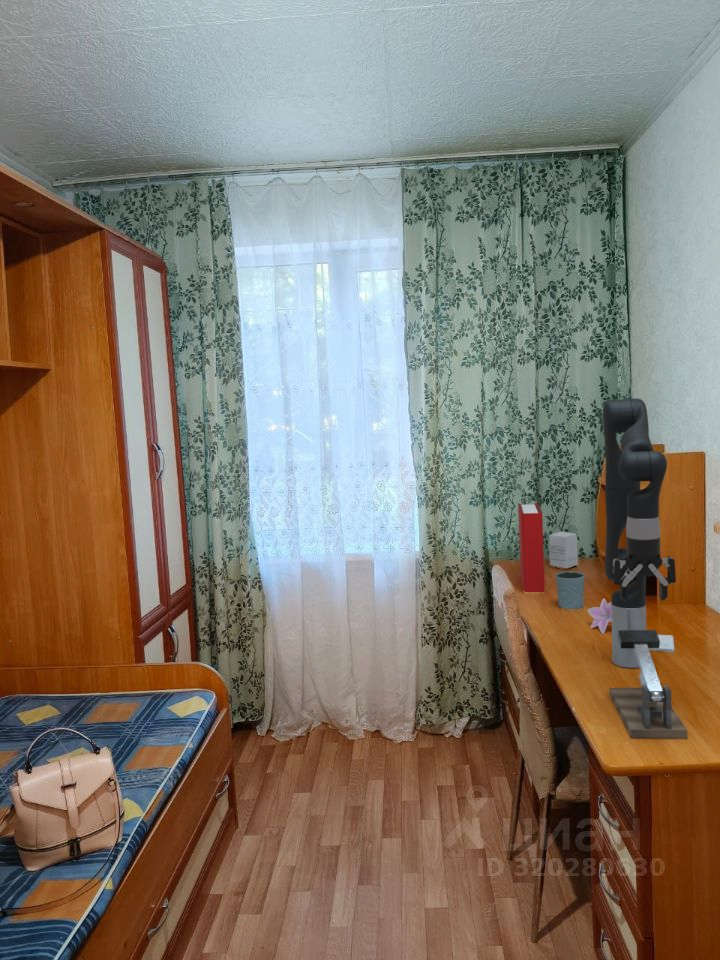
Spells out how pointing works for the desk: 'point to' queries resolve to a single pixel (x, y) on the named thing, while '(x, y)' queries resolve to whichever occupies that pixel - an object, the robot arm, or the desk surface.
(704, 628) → the desk surface
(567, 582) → the blue plant pot
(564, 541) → the supplement box
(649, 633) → the lever
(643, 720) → the base
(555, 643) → the desk surface
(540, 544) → the book
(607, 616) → the lily
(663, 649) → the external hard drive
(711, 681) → the desk surface
